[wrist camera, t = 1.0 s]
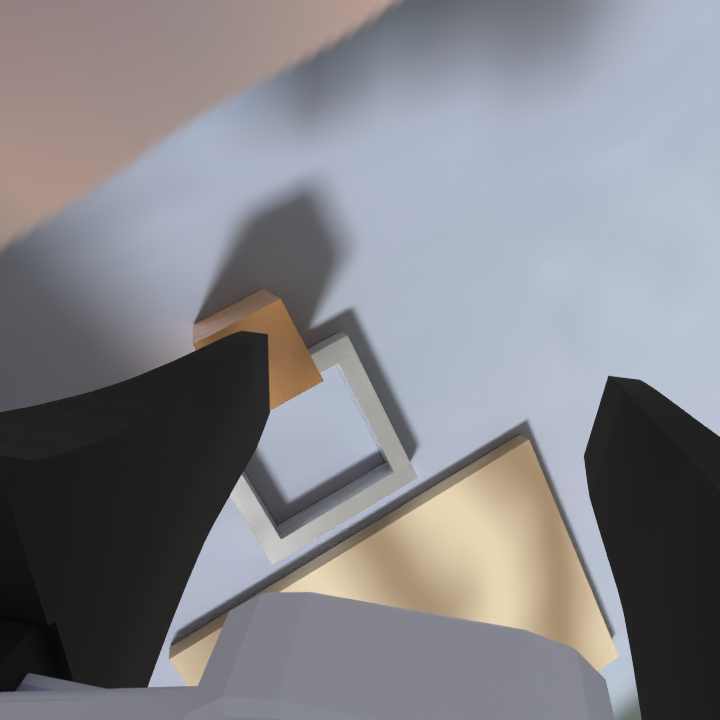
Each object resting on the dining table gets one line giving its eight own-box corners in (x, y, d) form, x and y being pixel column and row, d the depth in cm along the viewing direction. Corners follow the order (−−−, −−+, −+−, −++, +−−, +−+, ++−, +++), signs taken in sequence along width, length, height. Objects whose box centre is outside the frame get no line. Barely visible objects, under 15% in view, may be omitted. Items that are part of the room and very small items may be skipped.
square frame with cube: (145, 348, 22) (131, 376, 17) (307, 265, 23) (337, 269, 18) (269, 550, 24) (286, 622, 20) (407, 467, 26) (455, 516, 21)
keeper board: (317, 849, 28) (335, 940, 24) (169, 646, 24) (165, 718, 20) (608, 646, 31) (664, 700, 27) (519, 434, 27) (571, 463, 23)
